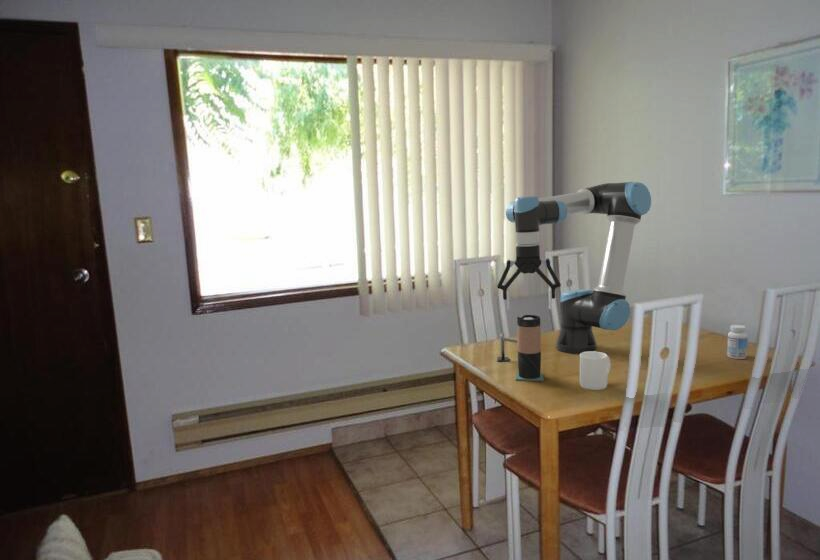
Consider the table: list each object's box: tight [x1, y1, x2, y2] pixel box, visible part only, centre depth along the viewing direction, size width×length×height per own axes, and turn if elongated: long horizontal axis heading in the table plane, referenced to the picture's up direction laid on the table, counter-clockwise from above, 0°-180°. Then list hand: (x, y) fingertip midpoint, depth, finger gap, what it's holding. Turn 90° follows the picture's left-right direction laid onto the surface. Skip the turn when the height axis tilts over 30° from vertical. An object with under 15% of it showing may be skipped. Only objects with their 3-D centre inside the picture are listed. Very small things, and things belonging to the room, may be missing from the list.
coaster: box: [515, 371, 545, 382], centre depth 187 cm, size 9×7×1 cm
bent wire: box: [496, 332, 517, 363], centre depth 199 cm, size 12×16×10 cm
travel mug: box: [516, 314, 542, 379], centre depth 185 cm, size 8×8×20 cm
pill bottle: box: [726, 324, 749, 360], centre depth 197 cm, size 6×6×11 cm
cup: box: [579, 350, 611, 391], centre depth 176 cm, size 8×12×10 cm
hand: (529, 308), depth 183 cm, fingers open, 13 cm apart
